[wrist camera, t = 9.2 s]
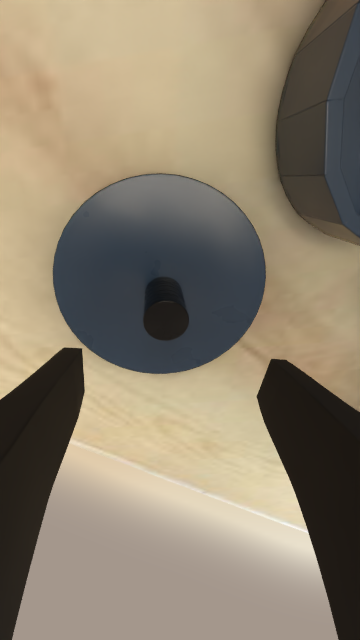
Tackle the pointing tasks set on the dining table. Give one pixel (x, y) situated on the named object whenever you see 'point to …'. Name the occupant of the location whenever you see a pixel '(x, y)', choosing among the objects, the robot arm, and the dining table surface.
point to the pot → (324, 123)
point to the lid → (159, 273)
